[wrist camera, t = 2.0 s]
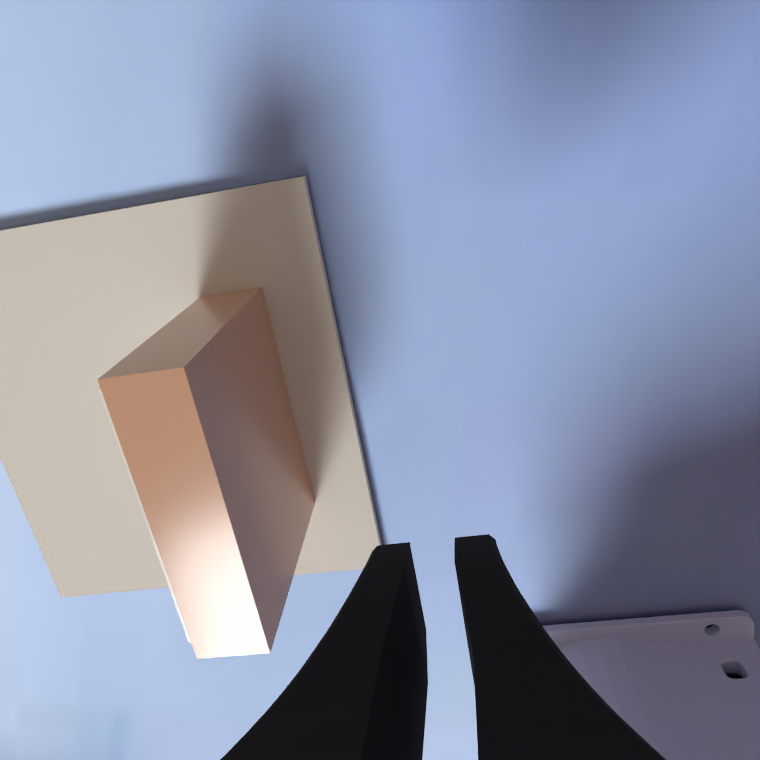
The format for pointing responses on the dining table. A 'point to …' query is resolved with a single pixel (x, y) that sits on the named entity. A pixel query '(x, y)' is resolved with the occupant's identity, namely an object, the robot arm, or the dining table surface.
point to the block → (215, 467)
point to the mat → (133, 327)
